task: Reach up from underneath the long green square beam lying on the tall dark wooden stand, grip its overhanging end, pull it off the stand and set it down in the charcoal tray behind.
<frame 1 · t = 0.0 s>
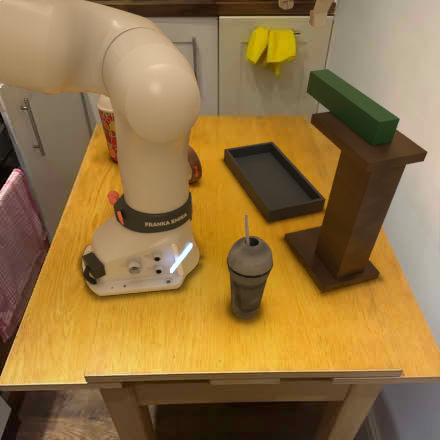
hand: (300, 16, 57), 39 cm above the table, tool pointing down, fingers open, 8 cm apart
tin: (181, 174, 101), on the table
stand: (328, 257, 81), on the table
beverage cup: (244, 310, 72), on the table
smoothie: (124, 158, 106), on the table
tray: (269, 183, 99), on the table
long green square beam: (345, 115, 66), point 26 cm above the table, touching stand
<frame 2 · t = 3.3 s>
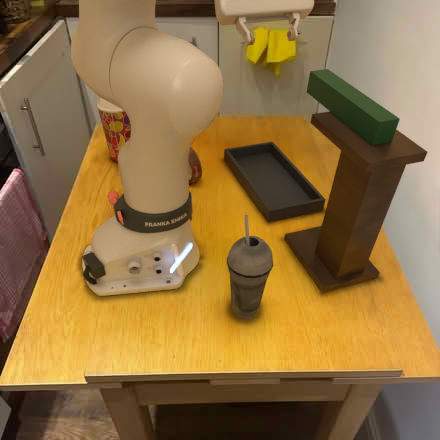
hand: (272, 41, 82), 29 cm above the table, tool tilted 45°, fingers open, 8 cm apart
nothing on the table moved.
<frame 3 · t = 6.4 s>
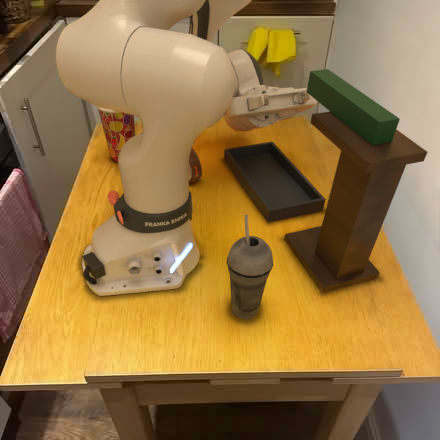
hand: (286, 97, 82), 21 cm above the table, tool pointing upward, fingers open, 8 cm apart
nothing on the table moved.
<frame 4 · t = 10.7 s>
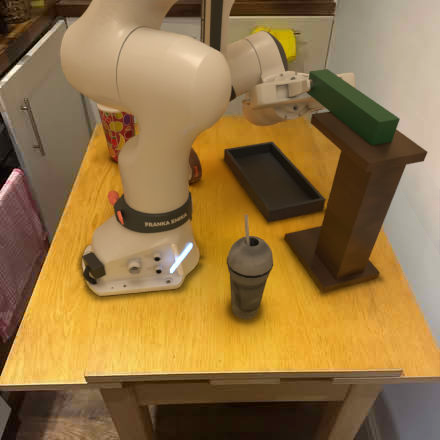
hand: (323, 82, 69), 28 cm above the table, tool pointing upward, fingers closed on long green square beam, 3 cm apart
long green square beam: (345, 115, 66), point 26 cm above the table, touching gripper, stand
everything else where it was.
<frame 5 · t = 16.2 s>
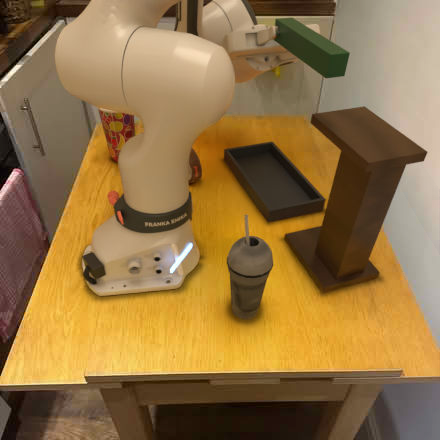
hand: (288, 29, 75), 32 cm above the table, tool pointing upward, fingers closed on long green square beam, 3 cm apart
long green square beam: (306, 56, 72), point 30 cm above the table, touching gripper
everything else where it was.
when the fingers open (21 cm above the table, at t = 21.7 s): long green square beam drops 19 cm, resting on tray.
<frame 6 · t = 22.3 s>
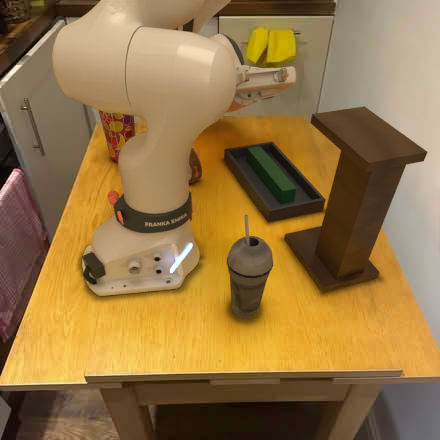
hand: (266, 73, 87), 22 cm above the table, tool pointing upward, fingers open, 8 cm apart
long green square beam: (268, 179, 99), point 1 cm above the table, touching tray
everything else where it was.
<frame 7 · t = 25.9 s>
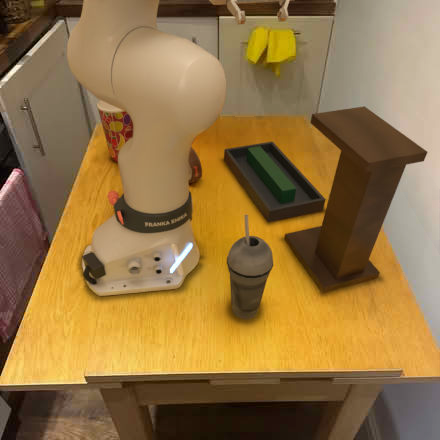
hand: (262, 21, 83), 31 cm above the table, tool tilted 45°, fingers open, 8 cm apart
nothing on the table moved.
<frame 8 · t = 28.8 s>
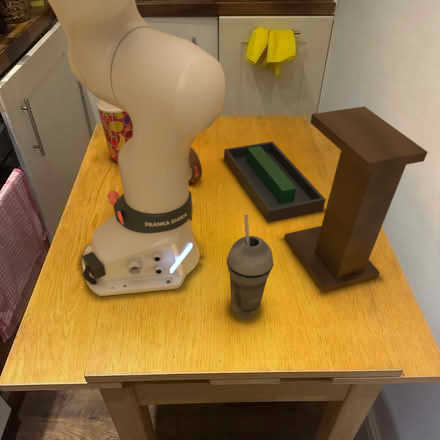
nothing on the table moved.
at the end: long green square beam inside the target area in the tray (0.8 cm from its centre), point 0.6 cm above the tray's base; the gripper is holding nothing; long green square beam point 0.6 cm above the table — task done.
